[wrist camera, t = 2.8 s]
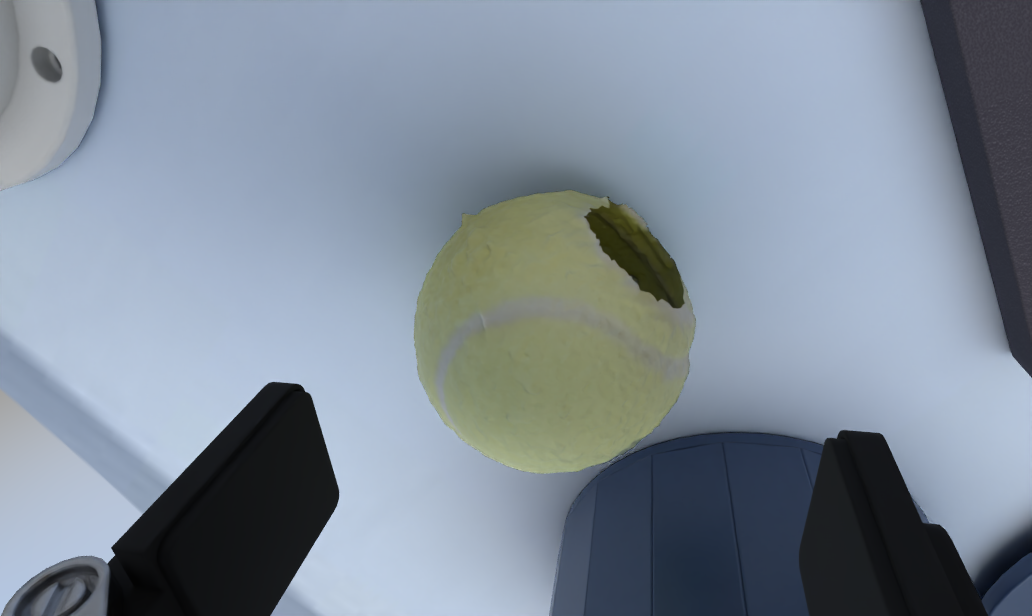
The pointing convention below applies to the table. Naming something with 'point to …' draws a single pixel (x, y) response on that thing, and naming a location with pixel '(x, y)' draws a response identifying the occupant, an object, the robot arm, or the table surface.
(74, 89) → the robot arm
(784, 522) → the tin
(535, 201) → the tennis ball
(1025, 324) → the notebook
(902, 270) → the table surface
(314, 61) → the table surface
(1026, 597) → the tin lid
